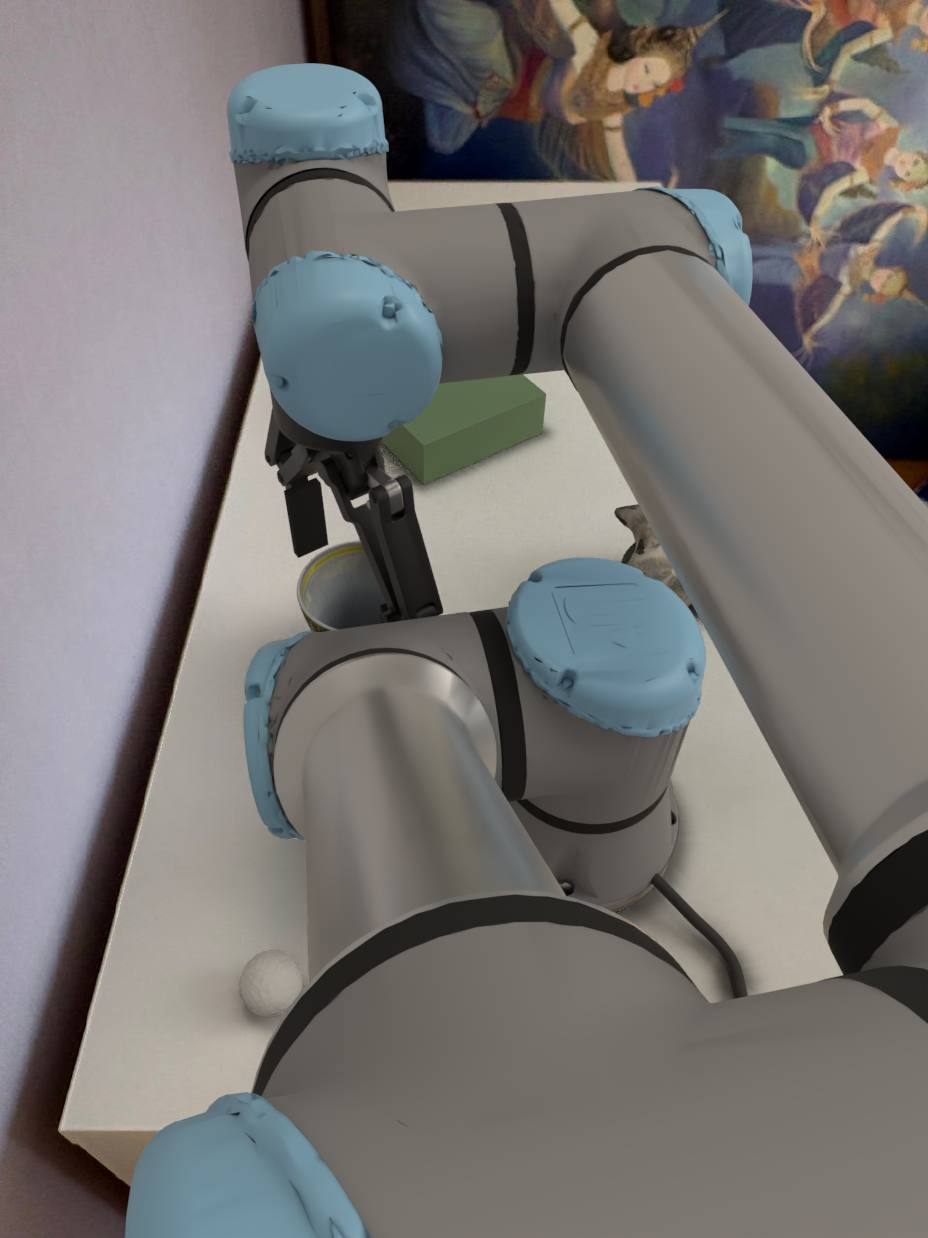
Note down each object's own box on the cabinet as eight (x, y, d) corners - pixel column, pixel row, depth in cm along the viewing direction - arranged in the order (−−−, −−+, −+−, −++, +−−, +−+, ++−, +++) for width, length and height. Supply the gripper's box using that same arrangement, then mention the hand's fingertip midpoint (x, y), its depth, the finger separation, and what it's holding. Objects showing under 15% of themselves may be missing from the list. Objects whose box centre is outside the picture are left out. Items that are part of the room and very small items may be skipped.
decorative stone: (779, 625, 80) (688, 673, 87) (780, 553, 86) (695, 604, 93) (645, 511, 75) (559, 572, 82) (655, 444, 81) (575, 505, 88)
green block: (542, 432, 101) (546, 393, 98) (423, 485, 96) (423, 445, 92) (461, 363, 109) (462, 324, 106) (347, 408, 104) (344, 368, 100)
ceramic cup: (340, 608, 85) (330, 526, 77) (446, 638, 83) (446, 557, 75) (272, 722, 77) (254, 643, 69) (388, 759, 75) (382, 681, 67)
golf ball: (233, 1013, 62) (222, 991, 59) (261, 956, 64) (252, 931, 61) (289, 1035, 61) (281, 1013, 58) (316, 976, 63) (309, 952, 60)
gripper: (507, 454, 51) (491, 689, 68) (287, 253, 65) (317, 490, 81) (388, 508, 49) (401, 740, 65) (183, 286, 62) (236, 525, 78)
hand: (355, 602), depth 73 cm, fingers open, 13 cm apart
